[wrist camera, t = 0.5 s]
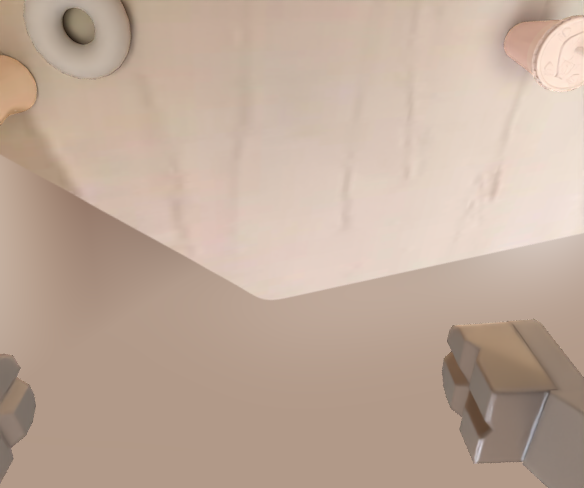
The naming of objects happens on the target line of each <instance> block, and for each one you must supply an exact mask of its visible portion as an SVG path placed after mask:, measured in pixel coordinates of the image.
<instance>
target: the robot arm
mask: <svg viewBox="0 0 584 488" xmlns="http://www.w3.org/2000/svg"><path fill="white" fill-rule="evenodd" d="M447 342H448V344H449V346H450V348H451V352H450V353H449V354H448V355H447V356H446V357H445V358H444V362H443V368H442V376H443V387H444V390H445V394H446V398H447V400H448V403H449V405H450V408H451V409H452V410H453V411H455V412H456V413H457V414H459V415H460V416H461V417H462V421H461V426H460V432H461V434H462V437H463V439H464V442H465V444H466V446H467V449H468V451H469V453H470V456H471V458H472V460H473V463H501V462H523V465H524V466H525V467H526V468H527V469H528V470H529V471H530V472H531V473H533V474H534V475H535V476H536V477H537V478H538V479H539V480H540V481H541V482H542V483H543V484H545V485H546V486H547V487H548V488H584V377H583V376H582V375H581V373H580V372H579V371H578V370H577V368H576V367H575V366H574V364H573V363H572V362H571V361H570V359H569V358H568V357H567V356H566V354H565V353H564V352H563V350H562V349H561V348H560V347H559V345H558V344H557V343H556V342H555V340H554V339H553V338H552V336H551V335H550V334H549V333H548V331H547V330H546V329H545V327H544V326H543V325H542V324H541V323H540V322H539V321H537V320H535V319H530V320H516V321H507V322H492V323H479V324H466V325H465V324H464V325H453V326H452V327H451V329H450V331H449V334H448V339H447ZM19 370H20V366H19V365H18V363H17V361H16V360H15V358H14V356H13V355H8V354H0V483H1V481H2V479H3V477H4V476H5V474H6V472H7V470H8V468H9V466H10V464H11V462H12V461H13V454H12V450H11V447H13V446H14V445H15V444H16V443H17V442H19V441H20V440H21V439H23V438H24V437H25V436H26V434H27V432H28V430H29V428H30V426H31V424H32V422H33V417H34V412H35V407H36V404H35V398H34V394H33V391H32V389H31V387H30V385H29V384H27V383H25V382H24V381H22V380H21V379H19V378H18V377H17V375H18V373H19Z"/></svg>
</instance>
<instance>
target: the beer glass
mask: <svg viewBox="0 0 584 488" xmlns="http://www.w3.org/2000/svg"><path fill="white" fill-rule="evenodd" d="M36 98H37V86H36V83H35V80H34V78H33V76H32V74H31V73H30V72H29V70H28V69H27V68H26V67H25V66H24V65H23V64H22V63H20V62H19V61H17V60H16V59H14V58H12V57H9V56H6V55H1V54H0V126H1V124H2V123H3V122H4V121H5V119H6V118H7V117H8V116H9V115H12V114H17V113H22V112H24V111H27V110H28V109H30V108H31V107H32V106H33V104H34V103H35V101H36Z"/></svg>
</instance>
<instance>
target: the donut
mask: <svg viewBox="0 0 584 488" xmlns="http://www.w3.org/2000/svg"><path fill="white" fill-rule="evenodd" d="M70 8H79V9H81V10H83V11H84V12H86V13H87V14H88V15H89V17H90V18H91V19H92V21H93V23H94V27H95V36H94V39H93V41H91V42H90V43H89V44H85V45H81V44H78V43H75V42H74V41H73V40H71V39H70V38H69V37H68V35H67V34H66V33H65V30H64V28H63V24H62V18H63V15H64V13H65V11H66V10H67V9H70ZM23 17H24V21H25V25H26V29H27V33H28V35H29V37H30V39H31V41H32V43H33V45H34V46H35V48H36V50H37V51H38V52H39V53H40V54H41V55H42V57H43V58H44V59H45V60H46V61H47V62H48V63H49V64H50V65H52V66H53V67H55V68H56V69H58V70H59V71H61V72H62V73H64V74H67V75H70V76H73V77H75V78H78V79H98V78H101V77H104V76H108V75H110V74H111V73H112V72H114V71H115V70H116V69H118V68H119V67H120V66H121V64H122V63H123V61H124V59H125V58H126V56H127V54H128V52H129V46H130V41H131V32H130V24H129V19H128V17H127V14H126V12H125V9H124V7H123V5H122V3H121V1H120V0H24V12H23Z"/></svg>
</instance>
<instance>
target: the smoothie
mask: <svg viewBox="0 0 584 488" xmlns="http://www.w3.org/2000/svg"><path fill="white" fill-rule="evenodd" d="M504 50H505V52H506V54H507V55H508V56H509V57H510V58H511V59H513V60H514V61H515V62H517V63H518V64H519V65H521V66H522V67H523V68H524V69H526V70H527V71H528V72H530V73H531V74H532V75H533V76H534V79H535V80H536V81H537V83H538V84H539V85H540V86H542V87H543V88H545V89H548V90H552V91H556V92H566V91H570V90H574V89H576V88H578V87H580V86H582V85H584V16H583V15H576V16H570V17H567V18H564V19H562V20H548V21H530V22H521V23H519V24H517V25H515V26H514V27H513V28H512V29H511V30H510V31H509V32H508V34H507V35H506V38H505V41H504Z"/></svg>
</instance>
